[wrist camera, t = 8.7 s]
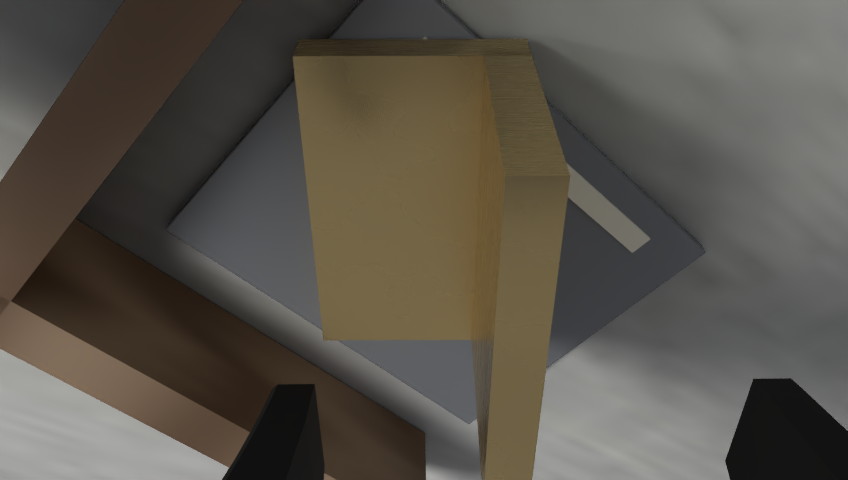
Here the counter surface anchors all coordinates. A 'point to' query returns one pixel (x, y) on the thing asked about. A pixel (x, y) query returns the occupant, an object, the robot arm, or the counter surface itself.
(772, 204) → the counter surface
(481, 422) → the bronze bracket
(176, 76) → the corner walls
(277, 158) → the mat
